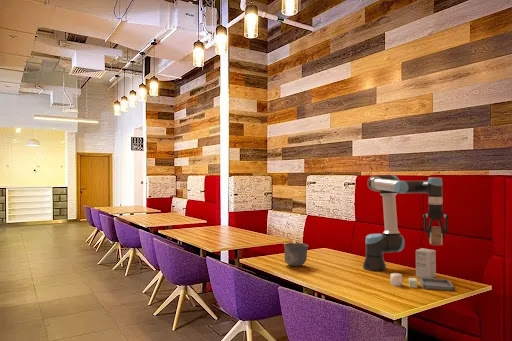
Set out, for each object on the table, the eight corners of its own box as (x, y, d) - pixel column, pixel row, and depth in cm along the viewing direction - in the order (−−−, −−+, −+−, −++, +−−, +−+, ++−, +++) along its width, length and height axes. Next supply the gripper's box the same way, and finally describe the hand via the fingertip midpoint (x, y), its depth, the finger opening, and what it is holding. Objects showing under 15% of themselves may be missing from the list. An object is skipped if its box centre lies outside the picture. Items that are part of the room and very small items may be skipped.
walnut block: (430, 243, 219) (430, 226, 220) (439, 243, 218) (439, 226, 218) (431, 245, 215) (431, 227, 215) (441, 245, 213) (441, 228, 213)
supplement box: (421, 273, 243) (421, 247, 243) (436, 276, 236) (436, 249, 236) (415, 276, 236) (415, 250, 236) (430, 279, 229) (430, 252, 230)
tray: (419, 281, 226) (419, 277, 226) (448, 283, 221) (448, 279, 221) (423, 288, 211) (423, 284, 211) (454, 291, 206) (454, 287, 206)
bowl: (312, 264, 268) (312, 243, 269) (303, 270, 253) (303, 248, 253) (289, 262, 277) (289, 241, 277) (280, 267, 261) (279, 245, 261)
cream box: (408, 284, 220) (408, 277, 220) (416, 285, 218) (415, 278, 218) (409, 287, 214) (409, 280, 214) (417, 288, 213) (417, 281, 213)
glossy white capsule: (390, 282, 223) (390, 272, 223) (401, 283, 221) (401, 273, 221) (390, 285, 217) (390, 275, 217) (402, 286, 215) (402, 276, 215)
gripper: (419, 204, 216) (419, 244, 215) (454, 204, 210) (454, 246, 210) (417, 203, 223) (418, 242, 223) (451, 203, 217) (451, 243, 217)
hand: (435, 243), depth 216 cm, fingers closed on walnut block, 5 cm apart
